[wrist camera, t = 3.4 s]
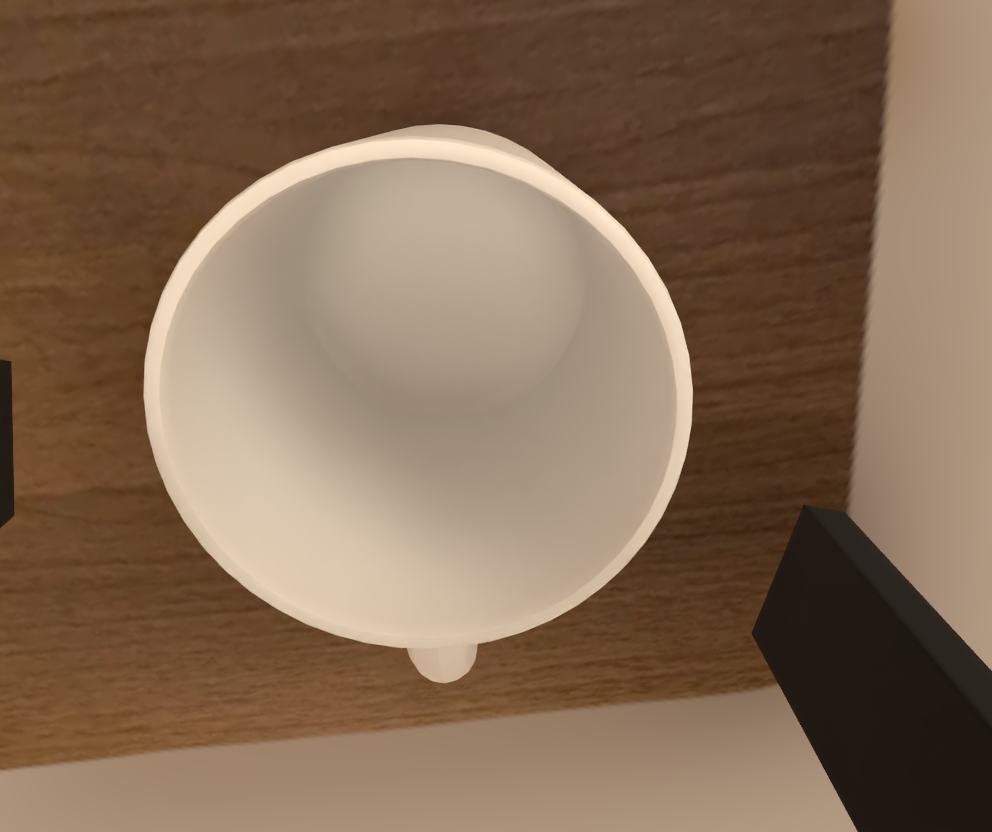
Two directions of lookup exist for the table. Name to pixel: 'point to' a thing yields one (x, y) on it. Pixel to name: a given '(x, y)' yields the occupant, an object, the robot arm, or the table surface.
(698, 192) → the table surface
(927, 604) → the robot arm
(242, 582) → the mug
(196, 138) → the table surface
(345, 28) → the table surface
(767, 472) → the table surface
